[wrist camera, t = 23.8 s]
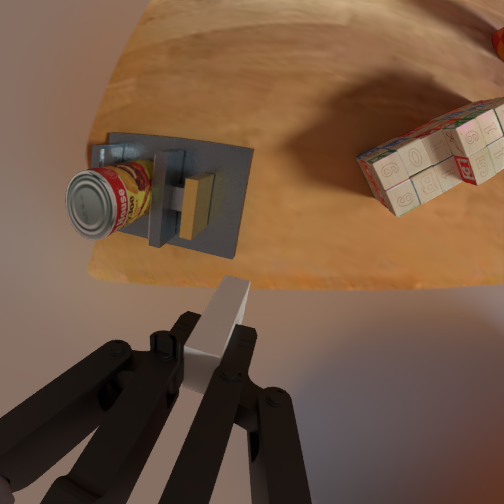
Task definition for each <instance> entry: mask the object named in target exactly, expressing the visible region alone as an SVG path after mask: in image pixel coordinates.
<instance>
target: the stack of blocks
mask: <svg viewBox="0 0 504 504" xmlns="http://www.w3.org/2000/svg"><path fill="white" fill-rule="evenodd" d="M356 160H357V162H358V164H359V166H360V168H361V170H362V172H363V174H364V176H365V178H366V180H367V182H368V184H369V186H370V188H371V191H372V193H373V194H374V196H375V198H376V199H377V200H378V201H379V202H381V204H383V205H384V206H385V207H386V208H388V209H389V211H390V212H391V213H393V214H394V215H395V216H396V217H399V216H401V215H403V214H404V213H406V212H408V211H410V210H412V209H414V208H415V207H417V206H419V205H420V204H424V203H425V202H427V201H429V200H431V199H433V198H434V197H436V196H438V195H440V194H442V193H443V192H446V191H447V190H449V189H451V188H453V187H454V186H456V185H458V184H459V183H460V182H462V181H464V182H466V183H470V184H473V185H477V186H478V185H480V184H481V183H483V182H484V181H486V180H488V179H489V178H491V177H493V176H494V175H495V174H496V173H498V172H499V171H501V170H503V169H504V97H501V98H495V99H491V100H485V101H482V100H481V101H476V102H472V103H470V104H467V105H465V106H463V107H459V108H457V109H454V110H452V111H450V112H448V113H445V114H443V115H441V116H438V117H436V118H434V119H432V120H430V121H429V122H428V123H425V124H423V125H421V126H419V127H417V128H415V129H413V130H412V131H410V132H408V133H405V134H403V135H401V136H399V137H397V138H393V139H391V140H389V141H387V142H385V143H383V144H381V145H379V146H377V147H375V148H373V149H371V150H369V151H367V152H365V153H363V154H361V155H360V156H358V157H356Z"/></svg>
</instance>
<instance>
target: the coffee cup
mask: <svg viewBox="0 0 504 504" xmlns="http://www.w3.org/2000/svg"><path fill="white" fill-rule="evenodd" d="M492 43H493V46H494V49H495V51H496V53H497V54H498V56H499V57H500V58H501V59H502V60H503V61H504V27H503V28H501V29H500V30H498V31H497V32H495V33H494V34H493V36H492Z"/></svg>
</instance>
